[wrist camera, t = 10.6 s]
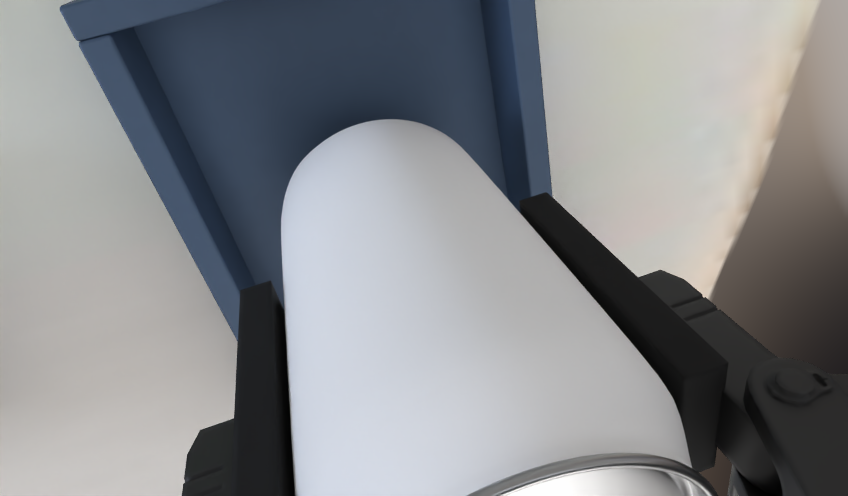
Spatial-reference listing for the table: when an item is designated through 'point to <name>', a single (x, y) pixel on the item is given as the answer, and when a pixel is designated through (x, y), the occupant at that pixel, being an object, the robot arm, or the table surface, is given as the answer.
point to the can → (453, 339)
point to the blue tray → (304, 102)
